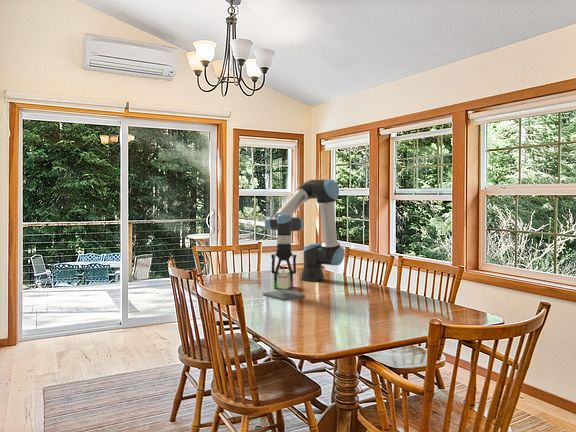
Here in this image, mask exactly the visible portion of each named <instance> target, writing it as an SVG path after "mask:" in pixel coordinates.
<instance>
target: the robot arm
mask: <svg viewBox="0 0 576 432" xmlns="http://www.w3.org/2000/svg"><path fill="white" fill-rule="evenodd" d="M339 195H340V188H339V185H338V183H337V182H336V181H335V180H334V179H329V178H327V179H325V178H324V179H310V180H308V181H305V182H304V183H301V184H300V185H299V186H298V187H297V188H296V189H295V190H294V192H293V194H292V196H291V197H290V198H289V199H288V200H287V201H286V202H285V203H284V204H283V205H282V206H281V207H280V208H279V209H278V210H277V212H276V213H275V214H274V215H273V216H267V217H266V218H265V219H264V226H265V228H266V229H267V230H270V231H276V232H277V233H276V234H277V235H276V242H277V244H276V252H275V253H274V254H271V274H273V275H274V274H275V280H277V287H278V277H279V274H277V273H278V270H279V269H280V266H281V262H283V261H284V262H286V264H287V267H288V270H289V271H290V274H289V287H290V284H291V281H292V280H293V281H294V275H295V274H296V273H297V263H296V261H297V256H298V255H297V254H293V252H292V232H298V231H302V230H303V229H304V227H305V221H304V220H303V218H302V217H297V216H295V217H292V216H293V214H294V213H296V211H297V210H298V209H299V208H300V207H301V206H302V205H303V203H306V202H307V201H308V200H311V199H313V200H315V199H316V203H317V204H318V206H319V210H320V223H321V230H322V240H323V242H322V243H321V242H320V243H309V244H308V243H307V244H305V245H304V247H303V267H302V272H301V275H300V280H301V281H306V282H322V281H324V280H325V275H324V272H323V267H322V265H328V266H340V265H341V264H342V263H343V260H344V259H345V249H344V247H342V246H341V243H340V242H339V241H338V237H337V236H338V235H337V226H336V212H335V202H337V198H338V197H339ZM276 257H277V258H278V261H277V265H276V268H275V262H276ZM290 258H292V259H293V260H292V265H293V266H292V265H291V263H290ZM292 267H293V269H292ZM292 270H293V272H292Z"/></svg>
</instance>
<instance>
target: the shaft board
mask: <svg viewBox="0 0 576 432" xmlns="http://www.w3.org/2000/svg"><path fill="white" fill-rule="evenodd" d="M262 296H265V297H268V298H272V299H275V300H279V301H289V300H296V299H301V298H305V297H306V294H304V293H301V292H295V291H292V290H289V289H286V288H282V289H278V290H273V291H266V292H262Z"/></svg>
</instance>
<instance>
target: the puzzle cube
mask: <svg viewBox="0 0 576 432" xmlns="http://www.w3.org/2000/svg"><path fill="white" fill-rule="evenodd" d="M279 272H289V274H290V271H289V269H280V268H279V270H278V273H277V274H279ZM292 272H293V269H292ZM273 280H274V281H273V289H274V290H282V288H278V287H277V280H275V274H274V273H273ZM293 286H294V279H293V280H292V281H291V284H290V287H289V288H288V289H287V290H291V289H293Z"/></svg>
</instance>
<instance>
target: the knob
mask: <svg viewBox="0 0 576 432" xmlns="http://www.w3.org/2000/svg"><path fill="white" fill-rule="evenodd" d="M278 288H286V290H289V289H288V288H289V272H279V277H278Z"/></svg>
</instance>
